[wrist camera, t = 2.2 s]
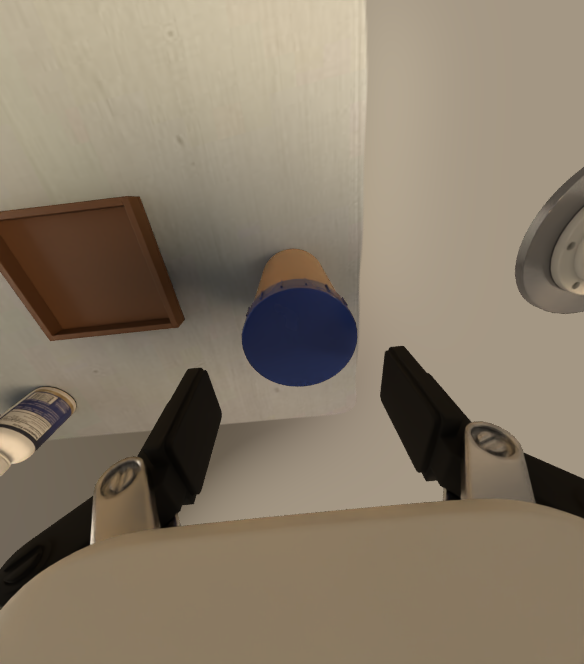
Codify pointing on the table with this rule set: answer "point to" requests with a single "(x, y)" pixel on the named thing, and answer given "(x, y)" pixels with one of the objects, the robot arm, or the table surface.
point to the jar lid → (299, 333)
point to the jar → (292, 269)
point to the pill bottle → (32, 423)
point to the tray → (88, 268)
